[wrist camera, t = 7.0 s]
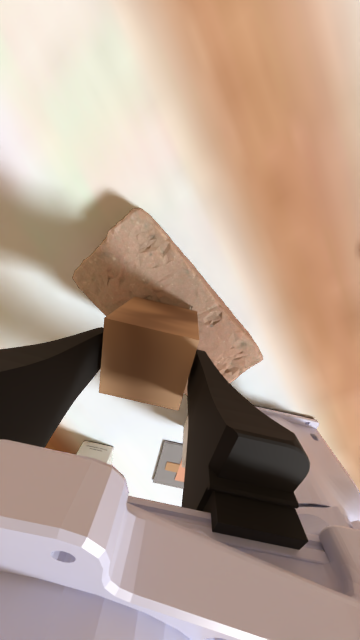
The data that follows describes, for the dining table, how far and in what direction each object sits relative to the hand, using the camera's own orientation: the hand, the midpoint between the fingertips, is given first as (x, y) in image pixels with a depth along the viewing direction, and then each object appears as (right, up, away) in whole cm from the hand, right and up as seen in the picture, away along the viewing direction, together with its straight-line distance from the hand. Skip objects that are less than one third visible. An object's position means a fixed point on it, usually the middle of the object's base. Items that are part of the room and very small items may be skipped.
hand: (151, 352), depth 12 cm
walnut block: (0, +1, +3) cm, 3 cm away
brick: (+1, +4, +7) cm, 8 cm away
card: (+2, -21, +16) cm, 26 cm away
